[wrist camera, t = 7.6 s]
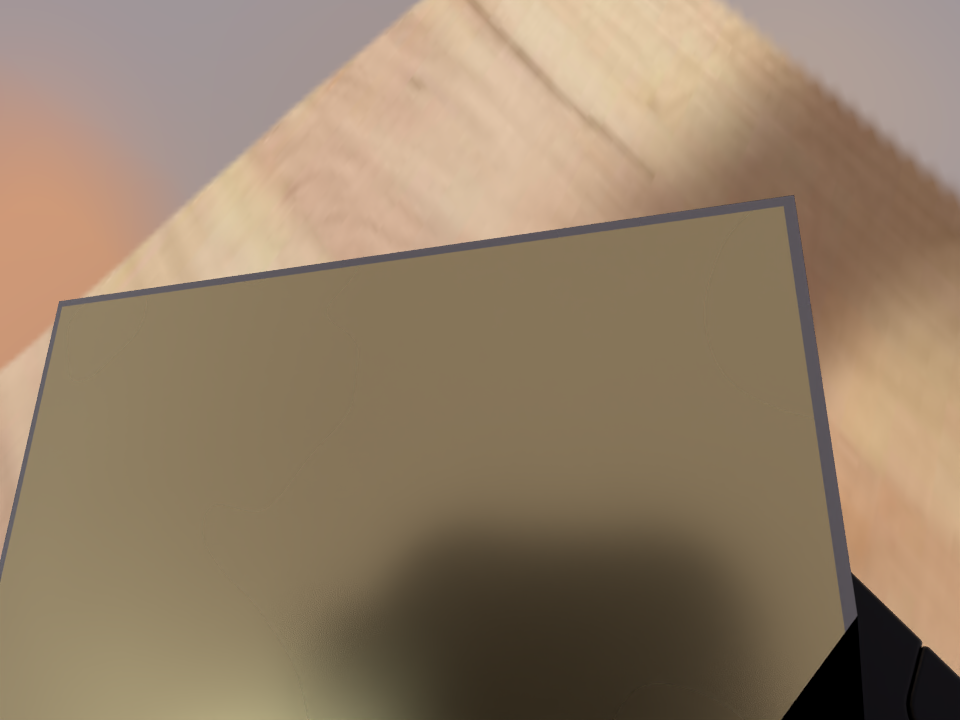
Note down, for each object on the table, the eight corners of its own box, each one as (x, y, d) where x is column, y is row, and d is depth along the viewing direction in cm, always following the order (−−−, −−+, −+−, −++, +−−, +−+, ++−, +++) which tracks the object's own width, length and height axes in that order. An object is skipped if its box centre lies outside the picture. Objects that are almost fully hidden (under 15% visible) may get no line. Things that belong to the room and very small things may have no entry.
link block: (696, 639, 13) (1078, 2102, 1) (505, 620, 15) (-139, 1174, 3) (680, 440, 14) (792, 195, 2) (506, 442, 16) (58, 300, 4)
